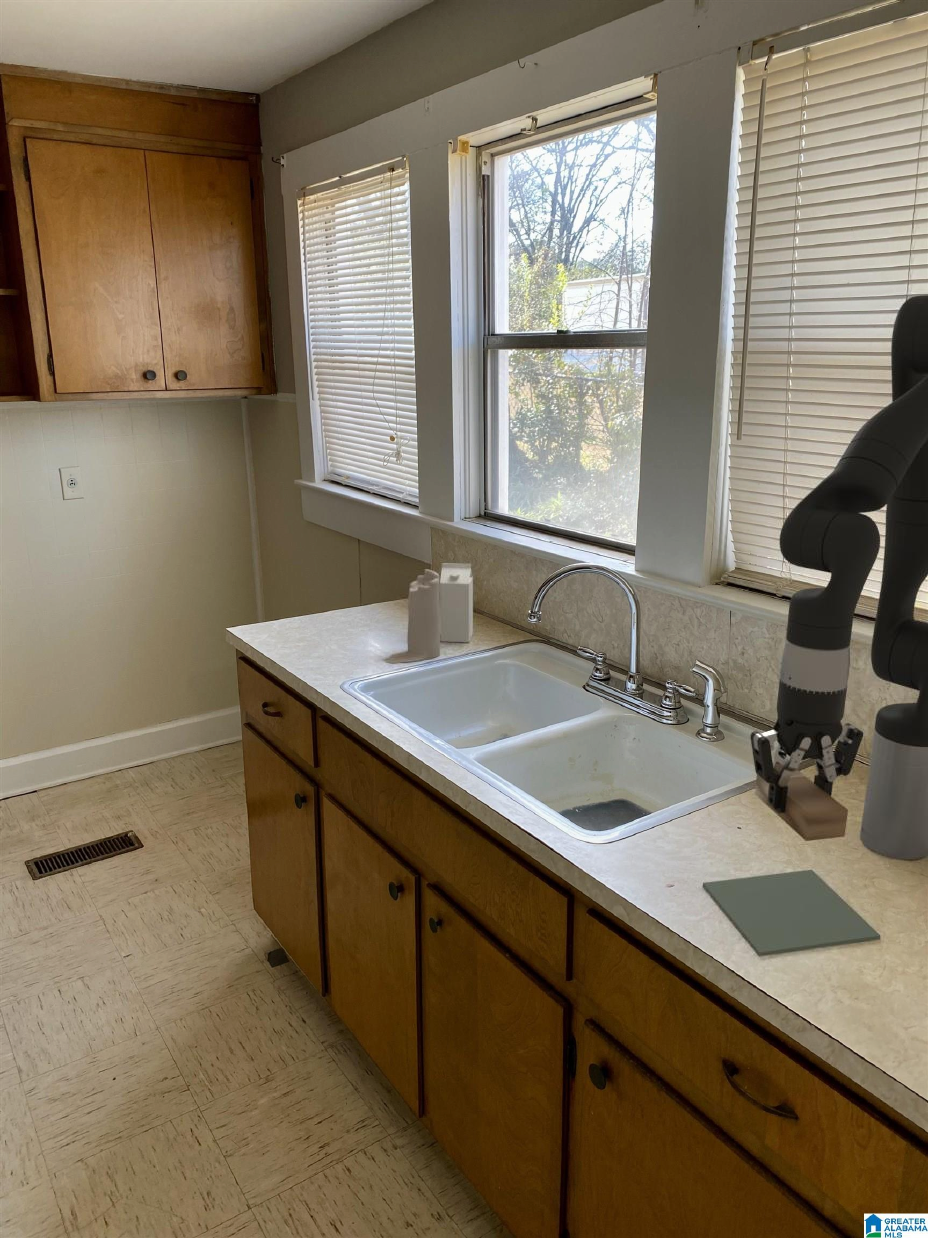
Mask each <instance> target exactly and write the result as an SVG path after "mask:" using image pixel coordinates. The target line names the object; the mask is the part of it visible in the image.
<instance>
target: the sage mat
mask: <svg viewBox="0 0 928 1238" xmlns="http://www.w3.org/2000/svg"><path fill="white" fill-rule="evenodd" d="M702 887H703V888H704V890H705V892H707V894H708V895H709V896H710V898H712V900H713V901H714V902H715V903H716V904H717V906H718V907H719V908H720V909H721V911H722V912H723V913H724V914H725V916H726V917H727V918H728V919H729V920H730V922H731V923H732V924H733V925H734V926H735V928H736V929H737V931H738V932H739V933H740V934H741V935H742V937H744V939H745V941H746V942H747V943H748V944H749V945H750V946H751V947H752V949H753V951H754V952H755V953H756V954H757V955H758V957H762V956H768V955H774V954H775V955H776V954H777V955H778V954H782V953H784V954H785V953H790V952H796V951H797V952H798V951H803V950H804V951H805V950H811V949H812V950H813V949H819V948H825V947H833V946H840V945H847V944H852V943H853V944H854V943H860V942H868V941H869V942H870V941H876V940H880V939H881V934H880V933H878V932H877V930H876V929H875V928H873V927H872V926H871V924H869V923H868V922H867V921H866V920H865V919H864V918H863V917H862V916H861V915H860V914H859V913H858V912H857V911H855V910H854V909H853V907H851V906H850V905H849V904H848V903H847V902H846V901H845V900H844V899H843V898H842V897H841V896H840V895H839V894H838V893H837V892H836V891H835V890H834V889H833V888H832V887H831V886H829V884H827V883H826V881H824V880H823V879H822V878H821V877H820V876H819V875H818V874H817V872H815V871H814V870H813V869H806V870H797V871H790V872H779V873H773V874H766V875H765V874H764V875H759V876H758V875H755V876H748V877H739V878H732V879H725V880H716V881H707V882H703V883H702Z"/></svg>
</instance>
